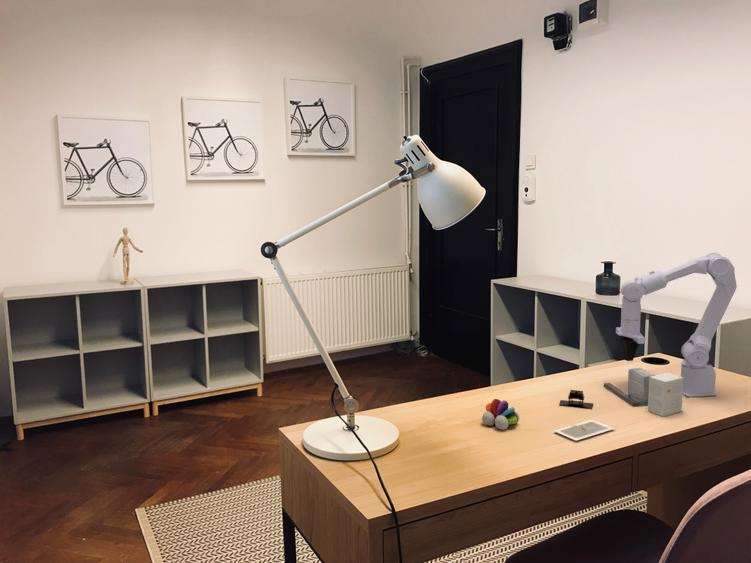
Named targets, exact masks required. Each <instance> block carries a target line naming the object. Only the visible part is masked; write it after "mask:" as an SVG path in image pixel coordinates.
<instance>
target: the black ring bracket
mask: <svg viewBox="0 0 751 563" xmlns="http://www.w3.org/2000/svg"><path fill="white" fill-rule="evenodd" d="M584 395H585V394H584V391H583V390H578V389H577V390H575V389H570V391H569V394H568V396H567V399H568V400H565V399H560V401H559V404H558V406H559V407H565V408H575V409H582V410H583V409H584V410H593V408H594V403H593V402H585V396H584Z"/></svg>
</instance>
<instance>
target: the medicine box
mask: <svg viewBox="0 0 751 563" xmlns="http://www.w3.org/2000/svg"><path fill="white" fill-rule="evenodd" d="M655 375H656V374H655V373H652V372H651V371H648V370H647V369H643V368H641V367H635V368H630V369H629V368H628V374H627V377H628V378H627V379H628V380H627V395H629V396H631V397H632V398H634V399H635V400H637V401H648V395H649V377H651V376H655Z"/></svg>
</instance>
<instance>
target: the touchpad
mask: <svg viewBox="0 0 751 563" xmlns="http://www.w3.org/2000/svg"><path fill="white" fill-rule="evenodd" d="M615 429H616V428H615V427H612V426H610V425H607V424H605V423H603V422H599V421H597V420H594V419H589V420H586V421H582V422H578V423H575V424H572V425H569V426H566V427H562V428H559V429H555V430H553V432H555V433H558V434H559V435H562V436H564V437H567V438H569V439H571V440H574V441H579V440H582V439H586V438H589V437H592V436H596V435H599V434H602V433H605V432H608V431H609V432H610V431H611V430H615Z"/></svg>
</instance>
